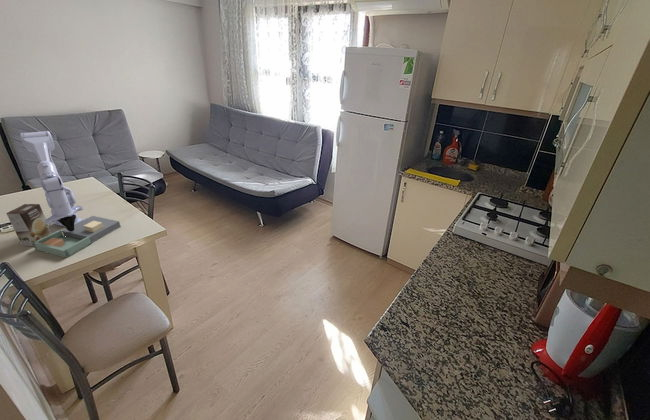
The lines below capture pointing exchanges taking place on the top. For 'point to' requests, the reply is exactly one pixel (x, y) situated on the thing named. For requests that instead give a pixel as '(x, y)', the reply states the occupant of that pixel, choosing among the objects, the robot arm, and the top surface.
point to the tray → (65, 250)
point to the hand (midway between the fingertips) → (71, 230)
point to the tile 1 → (55, 242)
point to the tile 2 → (93, 226)
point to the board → (81, 233)
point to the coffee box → (29, 223)
